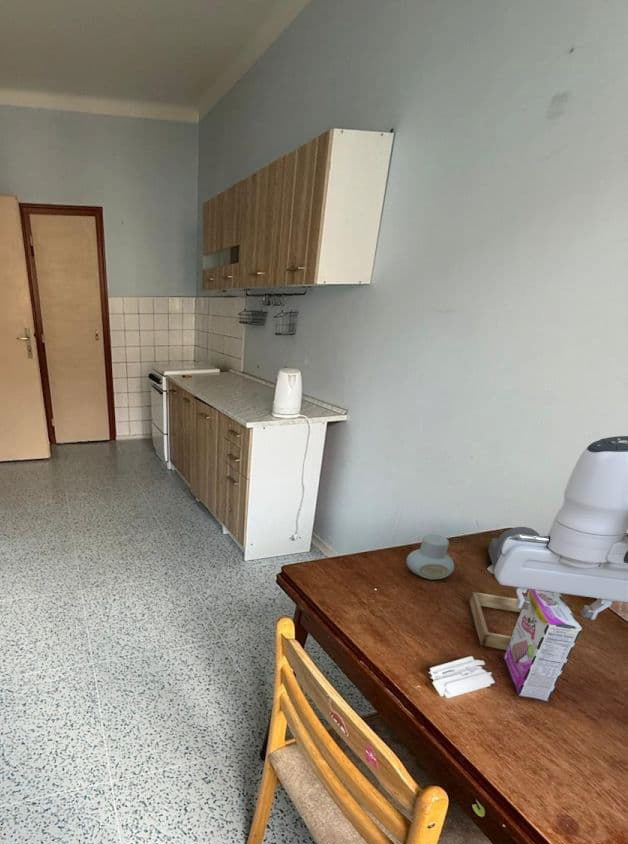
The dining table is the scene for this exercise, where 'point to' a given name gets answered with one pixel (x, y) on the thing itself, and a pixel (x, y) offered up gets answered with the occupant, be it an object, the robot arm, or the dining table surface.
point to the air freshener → (431, 558)
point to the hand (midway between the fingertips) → (553, 612)
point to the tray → (484, 635)
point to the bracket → (497, 542)
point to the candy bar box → (541, 644)
